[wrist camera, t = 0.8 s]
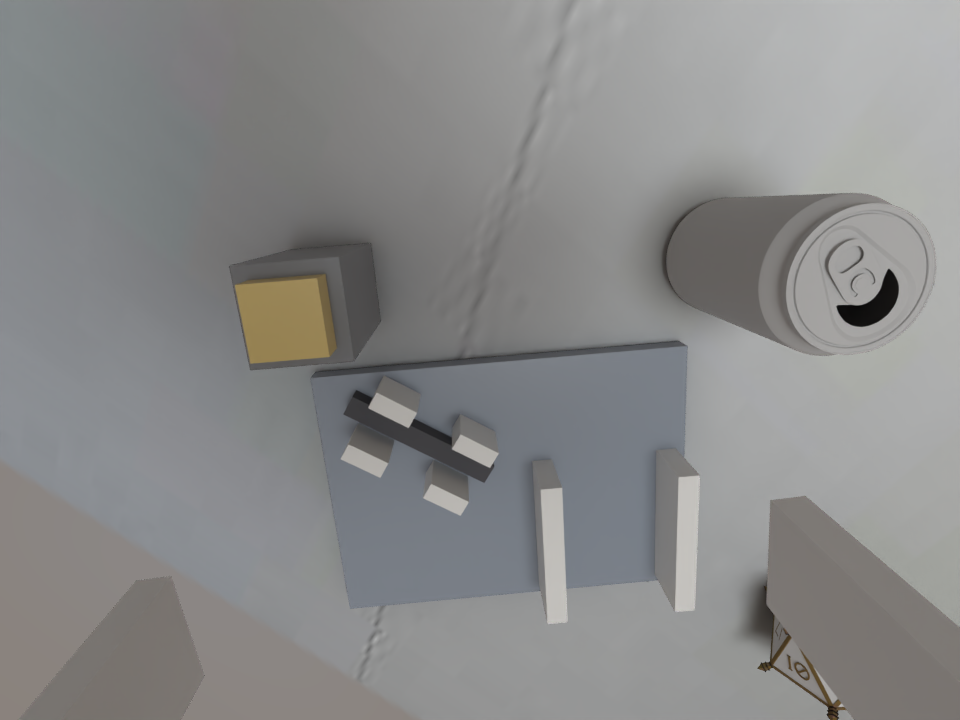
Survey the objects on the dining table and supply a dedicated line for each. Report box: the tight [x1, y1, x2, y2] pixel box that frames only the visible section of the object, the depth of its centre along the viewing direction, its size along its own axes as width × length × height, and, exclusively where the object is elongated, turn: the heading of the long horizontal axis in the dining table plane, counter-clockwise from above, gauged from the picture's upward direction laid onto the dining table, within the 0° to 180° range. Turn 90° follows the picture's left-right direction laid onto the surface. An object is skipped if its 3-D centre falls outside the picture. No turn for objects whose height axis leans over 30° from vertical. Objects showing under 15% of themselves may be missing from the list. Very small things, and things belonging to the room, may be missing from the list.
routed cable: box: [343, 390, 494, 483], centre depth 32 cm, size 9×1×1 cm, turn 61°
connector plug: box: [229, 243, 381, 370], centre depth 26 cm, size 4×4×10 cm
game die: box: [757, 586, 846, 720], centre depth 35 cm, size 9×8×10 cm
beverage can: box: [666, 193, 936, 356], centre depth 26 cm, size 6×6×12 cm
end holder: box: [532, 448, 700, 624], centre depth 33 cm, size 9×9×4 cm
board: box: [311, 341, 687, 609], centre depth 33 cm, size 16×22×4 cm
